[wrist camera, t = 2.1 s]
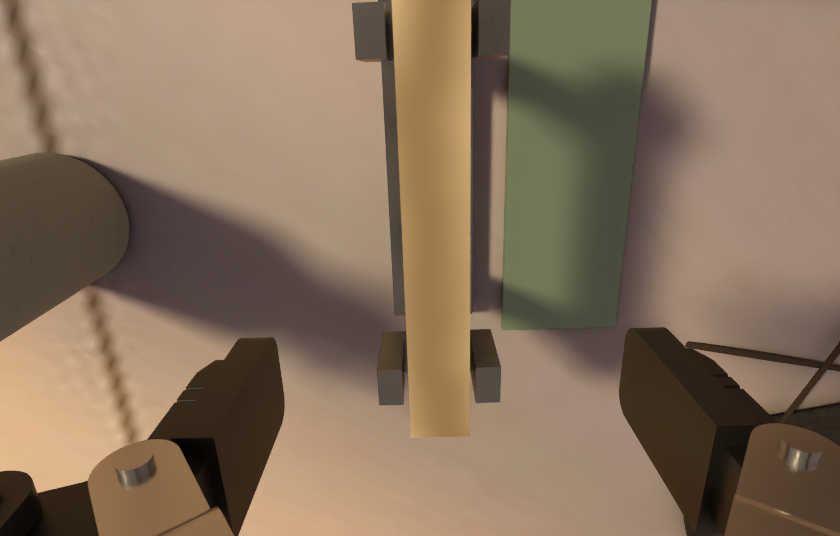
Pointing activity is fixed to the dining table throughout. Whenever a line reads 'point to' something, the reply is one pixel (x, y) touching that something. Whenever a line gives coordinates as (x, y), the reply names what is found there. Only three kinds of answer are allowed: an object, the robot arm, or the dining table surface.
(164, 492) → the robot arm
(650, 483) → the dining table surface
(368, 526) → the dining table surface
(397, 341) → the rail stand
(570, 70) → the rubber mat
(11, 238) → the water bottle
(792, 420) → the sushi plate
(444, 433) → the beech rail
